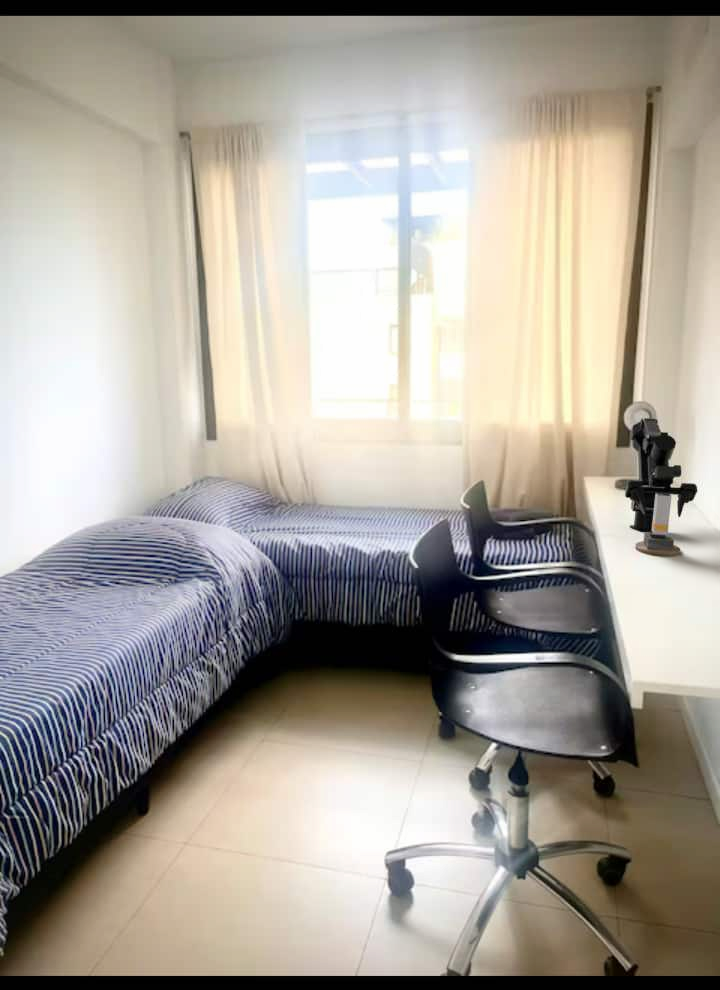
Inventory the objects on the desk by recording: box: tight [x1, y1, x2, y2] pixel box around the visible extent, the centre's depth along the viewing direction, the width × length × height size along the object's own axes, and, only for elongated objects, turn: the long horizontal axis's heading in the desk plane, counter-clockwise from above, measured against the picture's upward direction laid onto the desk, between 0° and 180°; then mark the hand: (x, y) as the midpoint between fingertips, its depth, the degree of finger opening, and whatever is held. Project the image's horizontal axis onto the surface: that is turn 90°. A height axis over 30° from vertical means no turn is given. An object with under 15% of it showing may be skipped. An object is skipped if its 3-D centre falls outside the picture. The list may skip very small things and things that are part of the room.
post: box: [651, 493, 673, 535], centre depth 198 cm, size 4×4×11 cm
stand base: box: [635, 532, 681, 557], centre depth 200 cm, size 12×12×4 cm
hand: (662, 515), depth 196 cm, fingers open, 9 cm apart
